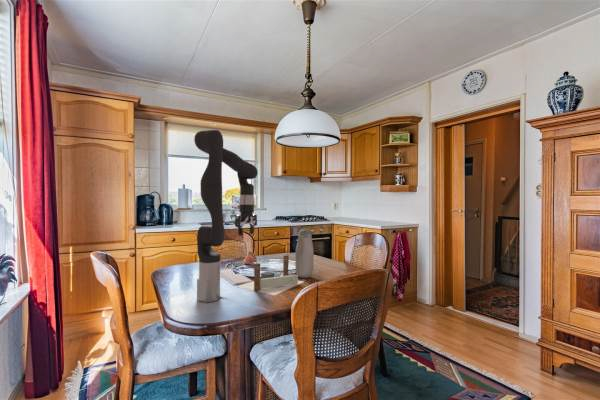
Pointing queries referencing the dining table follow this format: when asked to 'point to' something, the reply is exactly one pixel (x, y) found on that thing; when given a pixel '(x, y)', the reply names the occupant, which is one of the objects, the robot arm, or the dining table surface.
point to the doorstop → (267, 275)
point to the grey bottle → (304, 254)
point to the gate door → (278, 281)
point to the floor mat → (269, 290)
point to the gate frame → (257, 272)
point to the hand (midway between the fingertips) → (246, 234)
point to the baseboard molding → (233, 277)
